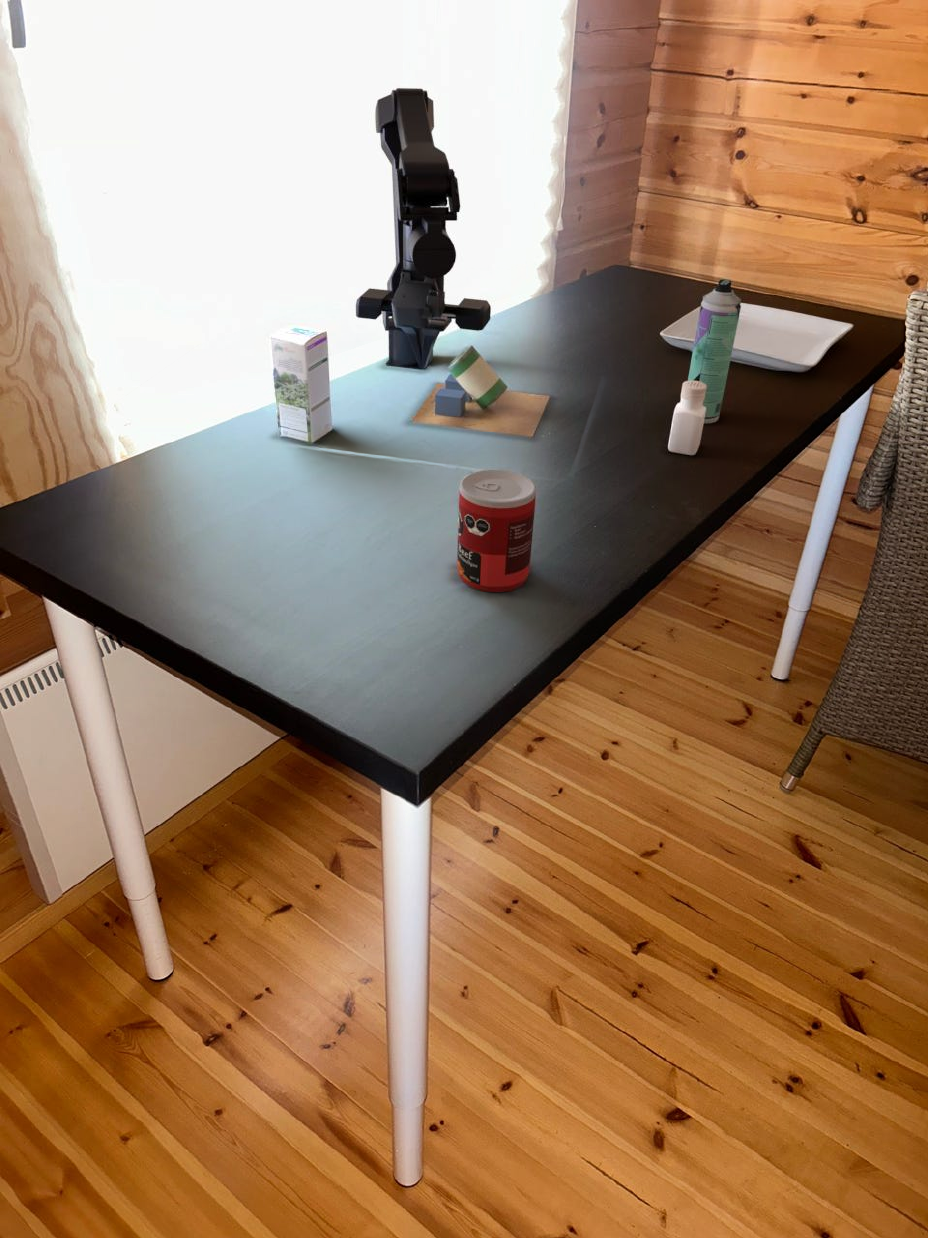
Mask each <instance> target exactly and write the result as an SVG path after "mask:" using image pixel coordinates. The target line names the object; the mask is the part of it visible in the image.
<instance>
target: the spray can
mask: <svg viewBox="0 0 928 1238" xmlns="http://www.w3.org/2000/svg"><path fill="white" fill-rule="evenodd" d="M740 303H742V299H741V298H740V297H738V296H737V295H736V294H735V291H734V290H733V288H732V280H730V279H726V278H725V279H719V280H718V284H717V286H715V288H713V290H712V291H710V292H709V293H706V294H704V295H703V296H702V301H701V303H700V306H701V308H700V314H699V320H698V325H697V331H696V337H695V342H694V348H693V352H692V355H691V361H690V365H689V366H690V367H689V371H688V372H689V373H688V376H687V381H690V380H691V381H699V382H702V383H704V384H706V387H707V388H706V392H705V398H704V400H703V406H704V407H706V413H705V419H704V424H713V423H716V422H717V421H719V418H720V414H721V410H722V404H723V399H724V396H725V395H724V394H725V389H726V383H727V380H728V374H729V370H730V369H729V368H730V364H731V361H730V359H731V354H732V349H733V344H734V339H735V334H736V329H737V324H738V319H739V314H740V309H741V305H740Z"/></svg>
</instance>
